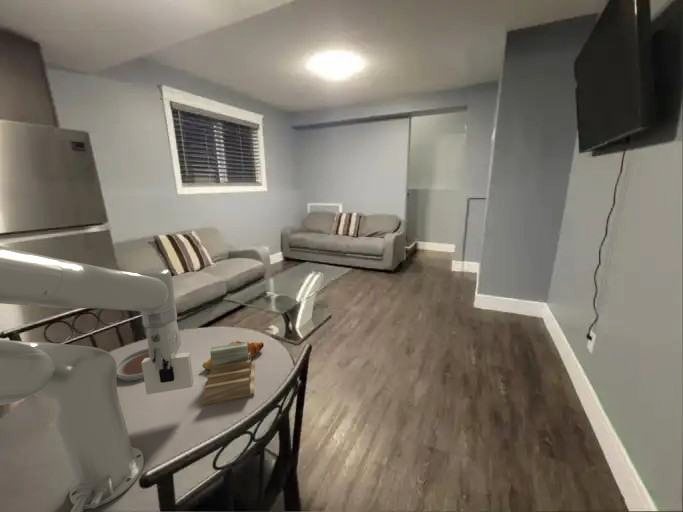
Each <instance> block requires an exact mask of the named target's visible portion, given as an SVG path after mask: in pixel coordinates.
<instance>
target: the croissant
mask: <svg viewBox="0 0 683 512" xmlns="http://www.w3.org/2000/svg"><path fill="white" fill-rule="evenodd" d="M245 342H246V341H245ZM245 342H244V341H239V340H235V341H231V342H230V343H229V344H228V345H231V344H238V343H245ZM247 345H248V353H249V352H250V353H251V358H253V357H255V355H257V354H258V353H260V351H261V350H262V349H263V348H264V346H265V345H264V342H262V341H261V342H251V343H249V342H248V341H247ZM211 366H212V360H211V357H210V358H209V359H208V360H207V361H205V362H203V363H202V365H201V367H202V368H203V369H205V370H210V367H211Z"/></svg>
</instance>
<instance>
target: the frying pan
mask: <svg viewBox="0 0 683 512" xmlns="http://www.w3.org/2000/svg"><path fill="white" fill-rule="evenodd" d="M144 358H150V356H149V349H148V347H146V348H143V349H140V350H137V351H133V352H132V353H129V354H128V355H126V356H125V357H123V358H122V359H120V360H119V361H118V362H117V363H116V365H117V379H120V380H121V381H126V382H133V381H140V380H144V375H143V369H142V361H143V360H144Z"/></svg>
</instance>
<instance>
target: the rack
mask: <svg viewBox="0 0 683 512" xmlns="http://www.w3.org/2000/svg"><path fill="white" fill-rule="evenodd" d="M247 342H248V341H247ZM247 342H246V341H245V343H238V344H231V345H229V344H225V345H221V346H220V345H219V346H214V347H213V346H212V347H210V350H209V351H210V353H209V354H210V358H211V360H212V366H211V367H210V369H209V371H210V374H209V375H207V377H206V378H207V384H206V385H205V386H204V392H205V394H204V397H203V401H202V405H203V406H208V405H212V404H219V403H224V402H227V401H233V399H234V400H238V399H237V398H239V399H243V398H242V397H244V398H248V397H247V396H249V397H252V396H251V395H254V396H255V384H254V380H255V379H256V377H255V375H256V374H255V371H256V364H255V362H252V357H251V353H250V352H249V353H248V345H247Z"/></svg>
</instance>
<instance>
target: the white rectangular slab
mask: <svg viewBox="0 0 683 512" xmlns="http://www.w3.org/2000/svg"><path fill="white" fill-rule="evenodd" d="M170 362H171V367H173V373H174V381H170V382H164V383H161V382H160V376H159V371H158V370H156V369H155V364H156V362H155V363H152V362H151V360H150V358H144V360H143V361H142V369H143V375H144V378H143V380H144V385H145V392H146V395H151V394H153V395H154V394H159V393H165V392H172V391H176V390H183V389H188V388H192V387H193V385H194V375H193V368H192V367H193V366H192V360H191V352H182V353H176V355H175V357H174V358H173V360H171V361H170ZM163 363H167V361H165V362H163Z"/></svg>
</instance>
